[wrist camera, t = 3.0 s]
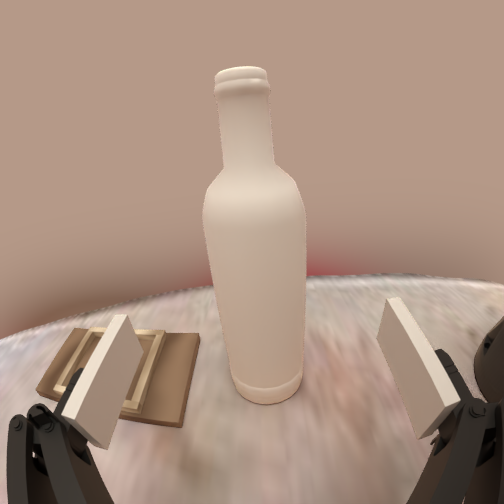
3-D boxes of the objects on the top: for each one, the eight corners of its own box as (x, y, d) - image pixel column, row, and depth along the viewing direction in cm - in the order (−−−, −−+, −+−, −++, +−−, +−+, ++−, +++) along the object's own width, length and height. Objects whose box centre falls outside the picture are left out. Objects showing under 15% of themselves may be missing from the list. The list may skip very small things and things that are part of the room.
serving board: (200, 339, 36) (197, 327, 35) (181, 427, 23) (175, 418, 22) (77, 333, 37) (72, 323, 36) (39, 395, 24) (31, 385, 23)
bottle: (316, 379, 28) (322, 66, 15) (261, 418, 24) (218, 52, 11) (272, 344, 34) (252, 82, 21) (220, 373, 30) (167, 85, 17)
